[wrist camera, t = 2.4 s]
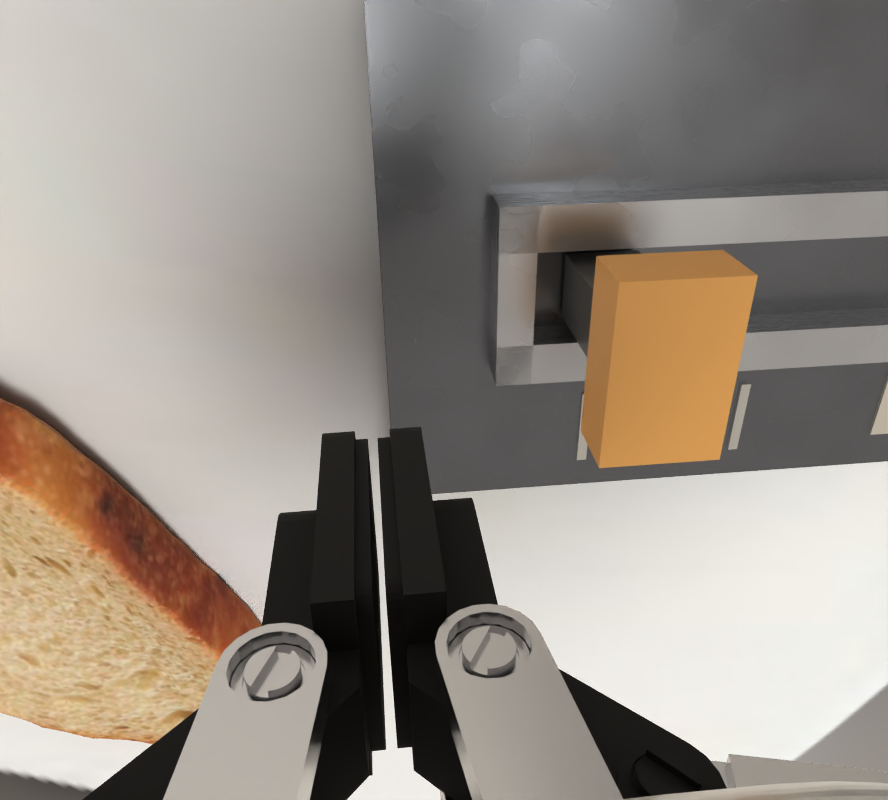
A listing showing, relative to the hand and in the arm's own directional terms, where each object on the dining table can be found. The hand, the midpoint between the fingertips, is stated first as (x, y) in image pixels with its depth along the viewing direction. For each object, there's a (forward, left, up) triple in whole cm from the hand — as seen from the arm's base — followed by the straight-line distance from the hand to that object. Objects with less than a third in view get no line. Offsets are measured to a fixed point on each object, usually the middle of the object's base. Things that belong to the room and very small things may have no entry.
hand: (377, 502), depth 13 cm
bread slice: (+12, +9, -11) cm, 19 cm away
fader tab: (-6, 0, -9) cm, 11 cm away
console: (-13, 0, -11) cm, 17 cm away
